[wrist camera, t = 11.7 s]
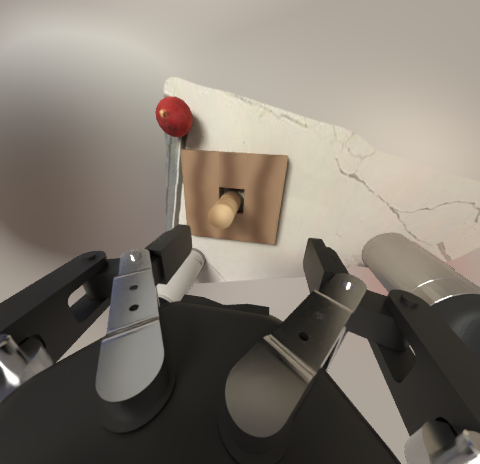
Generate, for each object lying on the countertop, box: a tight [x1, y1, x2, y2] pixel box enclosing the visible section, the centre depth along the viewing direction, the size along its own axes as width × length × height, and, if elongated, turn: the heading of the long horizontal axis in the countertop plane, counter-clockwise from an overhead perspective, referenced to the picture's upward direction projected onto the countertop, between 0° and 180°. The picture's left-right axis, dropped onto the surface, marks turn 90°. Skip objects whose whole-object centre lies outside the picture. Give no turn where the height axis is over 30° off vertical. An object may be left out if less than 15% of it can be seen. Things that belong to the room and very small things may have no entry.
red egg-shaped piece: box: [156, 97, 193, 137], centre depth 31 cm, size 6×6×8 cm
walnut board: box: [181, 149, 288, 245], centre depth 38 cm, size 20×18×2 cm
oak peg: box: [208, 190, 242, 229], centre depth 34 cm, size 4×4×12 cm
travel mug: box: [156, 248, 205, 306], centre depth 39 cm, size 6×7×20 cm
